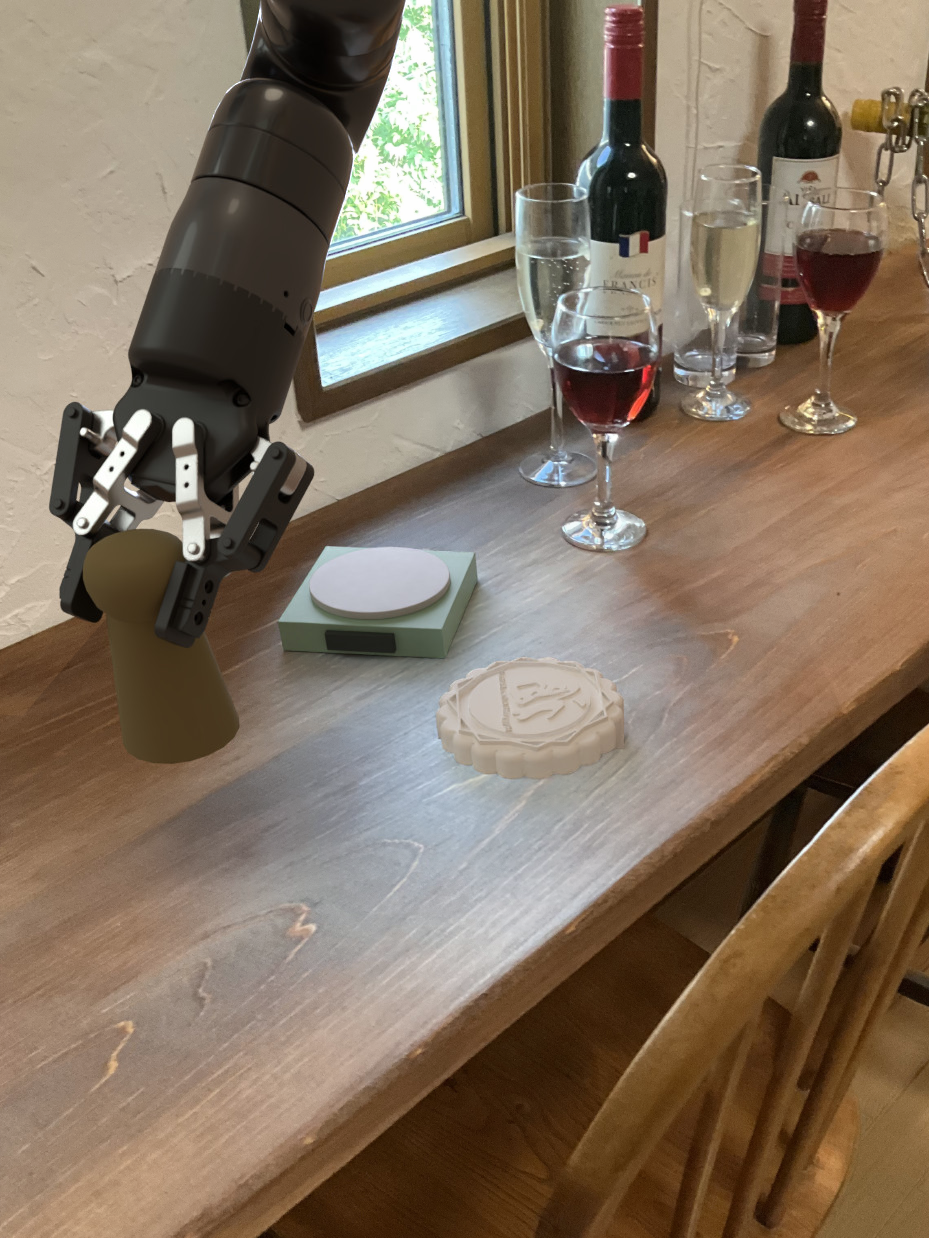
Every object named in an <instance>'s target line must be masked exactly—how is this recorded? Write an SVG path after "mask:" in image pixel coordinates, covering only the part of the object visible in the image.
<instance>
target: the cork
mask: <svg viewBox="0 0 929 1238" xmlns="http://www.w3.org/2000/svg"><path fill="white" fill-rule="evenodd" d="M185 560H186V558H185V557H184V555H183V540H181V539H180V537H178V536H177V535H175V534H173V533H170V532H168V531H165V530H161V529H156V528H136V529H133V530H126V531H122V532H118V533H115V534H112V535H110V536H107V537H105V538H104V539H102V540H100V541H99V542H97V543H96V544H94V545H93V546H92V547H91V548H90V550H89V551H88V552H87V554H86V557H85V560H84V565H83V581H84V584H85V587H86V590H87V592H88V593H89V595H90V597H91V598H92V600H93V601H94V603H95V605H96V606H97V608H99V609H100V610H102V611H103V614H105V618H106V627H107V635H108V642H109V650H110V656H111V657H110V659H111V664H112V673H113V679H114V685H115V687H114V688H115V694H116V695H115V696H116V701H117V709H118V716H119V724H120V730H121V731H120V732H121V739H122V745H123V746H124V748H125V750H126V751H127V754H129V755H131V756H133V757H134V758H135V759H137V760H138V761H139V760H140V761H143V762H147V763H151V764H160V765H163V764H164V765H175V764H180V763H189V762H193V761H196V760H198V759H203V758H205V757H208V756H210V755H213V754H215V753H216V752H218V751H220V750H221V749H223V748H225V747H226V746H227V745H228V744H229V743H230V742H232V740H233V739H235V737H236V736H237V733H238V732H239V729H240V728H241V727H240V716H239V714H238V711H237V708H236V706H235V704H234V701H233V699H232V696H231V694H230V691H229V689H228V686H227V684H226V681H225V679H224V676H223V673H222V671H221V668H220V665H219V663H218V661H217V658H216V656H215V654H214V651H213V649H212V646H211V644H210V641H209V639H208V636H207V633H206V630H205V631H204V632H203V634H202V635H201V636H200V638H196V639H195V642H194V644H193V645H192V646H191V647H190V648H185V647H181V646H177V645H174V644H172V643H169V642H167V641H165V640H163V639H160V638H158V637H157V636H156V635H155V631H154V627H155V623H156V620H157V617H158V614H159V611H160V608H161V605H162V602H163V599H164V596H165V593H166V590H167V587H168V584H169V581H170V577H171V574H172V571H173V568H174V565H175V562H176V561H179V562H184V563H185Z"/></svg>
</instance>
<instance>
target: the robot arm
mask: <svg viewBox="0 0 929 1238" xmlns="http://www.w3.org/2000/svg"><path fill="white" fill-rule="evenodd" d="M406 5H407V0H259V12H258V16H257V22H256V26H255V30H254V34H253V39H252V42H251V45H250V50H249V52H248V55H247V58H246V61H245V64H244V67H243V70H242V73H241V76H240V79H239V81H238V82H237V83H235V84H233V85H232V86H231V87H230V88H228V90H227V91H226V92H225V93H224V95H223V97H222V99H221V100H220V102H219V103H218V106H217V107H216V109H215V111H214V113H213V116H212V119H211V121H210V124H209V127H208V130H207V132H206V135H205V138H204V141H203V144H202V147H201V150H200V153H199V156H198V159H197V162H196V164H195V168H194V171H193V174H192V177H191V180H190V184H189V185H188V189H187V190H186V193H185V196H184V197H183V199H182V201H181V203H180V205H179V206H178V207H179V208H178V209H177V211H176V212H175V214H174V217H173V219H172V221H171V223H170V226H169V229H168V231H167V234H166V236H165V240H164V244H163V246H162V248H161V252H160V255H159V258H158V261H157V264H156V267H155V270H154V273H153V275H152V278H151V282H150V285H149V287H148V290H147V294H146V297H145V299H144V302H143V306H142V308H141V312H140V314H139V318H138V321H137V324H136V327H135V330H134V333H133V334H132V335H133V336H132V338H131V341H130V344H129V348H128V350H127V358H128V362H129V366H130V371H131V372H130V373H131V381H130V384H129V386H128V389H127V390H126V392H125V393H124V395H122V397H121V398H120V399H119V400H118V401H117V402H116V404H115V406H114V408H113V409H102V410H101V409H99V410H90V409H89V408H88V407H87V406H85V405H83V404H81V403H80V402H79V401H72V402H69V403H67V405H66V406H65V408H63V411H62V417H61V424H60V431H59V437H58V443H57V451H56V457H55V464H54V469H53V470H54V471H53V476H52V483H51V490H50V497H49V502H48V510H49V513H50V514H51V515H52V516H53V517H56V518H58V519H60V520H61V521H62V522H64V523H65V524H66V525H67V526H69V527H70V528H71V529H72V530H73V532H74V543H73V546H72V549H71V552H70V555H69V557H68V561H67V564H66V567H65V568H66V569H65V570H64V573H63V577H62V579H61V582H60V585H59V588H58V589H59V590H58V591H59V594H58V597H59V598H58V599H60V602H59V607H60V610H61V611H62V612H63V613H65V614H67V615H70V616H72V617H74V618H76V619H78V620H81V621H85V622H89V623H92V624H97V623H99V622H100V621H101V620H102V618H103V616H104V612H103V611H102V610H100V609H99V608H97V606H96V605H95V603H94V601H93V600H92V598H91V597H90V595H89V593H88V592H87V590H86V587H85V584H84V581H83V565H84V560H85V557H86V554H87V552H88V551H89V550H90V548H91V547H92V546H93V545H94V544H96V543H97V542H99V541H100V540H102V539H104V538H105V537H107V536H110V535H112V534H115V533H118V532H122V531H126V530H133V529H138V527H139V525H140V524H141V523H142V522H143V521H148V520H150V519H152V518H153V517H155V515H156V514H157V513H158V511H159V510H160V508H161V507H162V506H163V504H164V503H175V507H176V510H177V512H178V514H179V515H180V517H181V520H182V522H181V523H182V542H183V555H184V557H185V558H186V560H185V563H184V562H179V561H176V562H175V565H174V568H173V571H172V574H171V577H170V581H169V584H168V587H167V590H166V593H165V596H164V599H163V602H162V605H161V608H160V611H159V614H158V617H157V620H156V623H155V627H154V631H155V635H156V636H157V637H158V638H160V639H163V640H165V641H167V642H169V643H172V644H174V645H177V646H181V647H185V648H190V647H191V646H192V645H193V644H194V642H195V639H196V638H200V636H201V635H202V634H203V632H204V631H205V632H206V629H207V626H208V623H209V620H210V619H209V618H210V617H211V613H212V610H213V608H214V605H215V601H216V598H217V596H218V592H219V589H220V587H221V583H222V581H223V580H224V578H227V577H228V576H230V575H231V574H232V573H233V572H234V573H235V572H239V571H246V570H247V571H249V572H251V573H254V574H257V573H261V572H262V571H264V569H265V568H266V567H267V565H268V563H269V561H270V559H271V558H272V556H273V554H274V552H275V550H276V549H277V546H278V545H279V543H280V542H281V539H282V537H283V535H284V534H285V532H286V530H287V528H288V526H289V524H290V523H291V520H292V519H293V517H294V515H295V513H296V511H297V510H298V507H299V506H300V504H301V502H302V500H303V498H304V496H305V494H306V493H307V491H308V489H309V487H310V485H311V483H312V482H313V479H314V477H315V468H314V466H313V465H312V464H311V463H310V462H309V461H307V460H306V459H305V458H304V457H303V455H300V454H299V452H297V451H296V450H295V449H293V448H291V447H290V446H288V445H287V444H286V443H284V442H282V441H278V440H277V441H274V442H271V437H270V425H271V424H273V423H276V422H277V420H279V418H280V417H281V415H282V413H283V409H284V407H285V404H286V400H287V397H288V395H289V391H290V388H291V384H292V381H293V379H294V376H295V373H296V370H297V367H298V363H299V361H300V357H301V354H302V352H303V348H304V344H305V342H306V339H307V336H308V334H309V333H308V332H309V329H310V327H311V324H312V321H313V317H314V314H315V311H316V308H317V305H318V302H319V298H320V294H321V290H322V284H323V279H324V273H325V268H326V267H325V266H326V261H327V258H328V255H329V250H330V247H331V245H332V241H333V238H334V235H335V232H336V230H337V226H338V223H339V220H340V217H341V215H342V210H343V208H344V205H345V202H346V199H347V194H348V190H349V189H350V183H351V179H352V174H353V170H354V169H353V168H354V163H355V158H356V157H357V155H358V153H359V151H360V148H361V146H362V145H363V142H364V140H365V138H366V135H367V133H368V131H369V129H370V127H371V125H372V123H373V120H374V117H375V115H376V112H377V110H378V107H379V104H380V103H381V100H382V98H383V94H384V93H385V92H384V91H385V89H386V86H387V84H388V81H389V77H390V74H391V71H392V68H393V64H394V61H395V58H396V54H397V49H398V44H399V39H400V33H401V30H402V24H403V19H404V14H405V9H406ZM249 475H251V477H250V480H249V481H248V482H247V483H248V484H247V485H246V487H245V488H244V491H243V492H242V495H241V496H240V483H241V482H243V481H244V480H245V479H246V478H247V477H248V476H249ZM127 479H128V481H129V483H130V485H132V486H133V487H135V488H136V489H138V490H136V491H135V490H134V491H133V490H131V489H129V488H127V487H126V486H125V483H126V480H127ZM79 486H80V493H79ZM78 493H79V500H77V498H78ZM118 506H119V507H118ZM116 507H118V509H117V510H116V511H115V513H114V514H113V516H112V517H111V518H110V520H109V521H108V520H107V519H108V518H109V516H110V515H111V513H112V512H113V511H114V510H115V508H116Z"/></svg>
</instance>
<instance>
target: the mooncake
mask: <svg viewBox="0 0 929 1238" xmlns="http://www.w3.org/2000/svg"><path fill="white" fill-rule="evenodd" d="M438 707H439V708H438V709H437V711H436V712H435V723H436V731H437V739H438V740H441V746H442V749H443V750H444V751H445V752H447V753H449V754H453V757H454V760H455V762H456V763H458V764H460V765H464V766H472V768H473V769H474V771H475V772H477V773H479V774H481V775H494V774H497V775H498V776H499V777H501V778H503V779H507V780H517V779H522V778H524V777H526V778H529V779H532V780H543V779H546V778H549V777H551V776H552V775H554V774H555V775H569V774H572V773H574V772H576V771H578V769H579V768H580V767H581V766H582V767H583V766H584V767H585V766H590V765H594V764H596V763H598V762H599V760H601V758H602V754H607V753H609V752H611V751H613V750H624V747H625V699H624V697H623V696H622V694H620V693H619V692H618V688H617V685H616V684H615V682H614V681H613V680H610V679H608V678H604V676H603V674H602V673H601V672H600V671H599V670H598V669H596V668H590V667H584V666H583V665H582V664H581V663H580V662H577V661H575V660H565V661H560V660H559V659H557V658H555V657H551V656H545V657H539V658H538V659H537V658H533V657H528V656H521V657H516V658H515V659H513V660H511V661H510V660H496V661H493V662H491V663H490V664H488V665H487V666H486V667H479V668H474V669H472V670H471V671H469V672H467V674H466V675H465V678H464V677H463V678H459V679H456V680H454V681H453V682H452V683H451V684H450V685H449V688H448V691H446V692H444V693H443V694H442V695H441V696H440V697H439V700H438Z"/></svg>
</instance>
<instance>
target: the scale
mask: <svg viewBox="0 0 929 1238" xmlns="http://www.w3.org/2000/svg"><path fill="white" fill-rule="evenodd" d="M476 555H477V554H476V552H474V551H453V550H452V551H451V550H450V551H449V550H431V549H430V550H429V549H427V550H426V549H417V548H412V547H404V546H402V547H401V546H378V547H356V546H355V547H354V546H329V545H326V546H325V547H324V549H323V550H322V552H321V553H320V555H319V556H318V557H317V559H316V561H315V563H314V564H313V566H312V567H311V568H310V570H309V571H308V573H307V575H306V576H305V578H304V580H302V582H301V584H300V586H299V588H298V589H297V591H296V592H295V594H294V595H293V597H292V598H291V600H290V601H289V603H288V605H287V606H286V608H285V610H284V611H283V612H282V614H281V616H280V617H279V619H278V620H277V625H278V630H279V636H280V641H281V645H282V650H283V651H288V652H289V651H290V652H291V651H292V652H310V653H328V654H329V653H330V654H347V655H348V654H349V655H351V654H352V655H371V656H391V657H409V658H410V657H411V658H431V659H446V657H447V655H448V653H449V650H450V647H451V644H452V643H453V640H454V638H455V635H456V633H457V630H458V628H459V625H460V623H461V621H462V618H463V616H464V614H465V611H466V609H467V607H468V604H469V602H470V599H471V596H472V594H473V592H474V590H475V587H476V586H477V585H476V584H477V582H478V581H479V580H478V579H479V577H478V567H477V557H476Z"/></svg>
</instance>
